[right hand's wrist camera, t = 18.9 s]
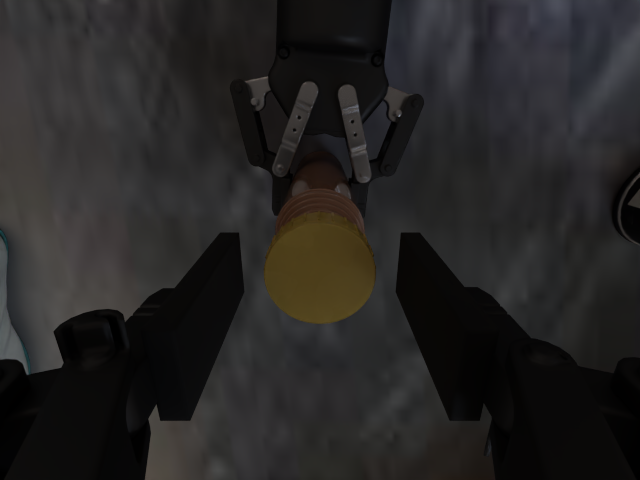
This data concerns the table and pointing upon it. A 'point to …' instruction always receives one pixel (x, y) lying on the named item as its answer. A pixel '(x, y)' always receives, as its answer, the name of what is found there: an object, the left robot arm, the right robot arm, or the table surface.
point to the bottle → (320, 191)
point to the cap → (319, 268)
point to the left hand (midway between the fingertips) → (317, 222)
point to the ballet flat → (3, 337)
